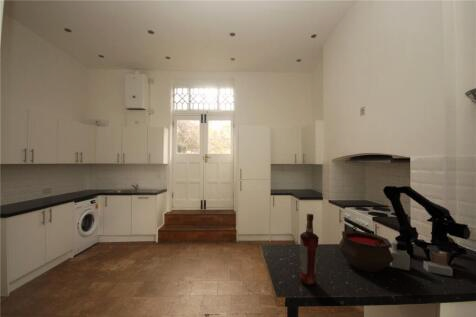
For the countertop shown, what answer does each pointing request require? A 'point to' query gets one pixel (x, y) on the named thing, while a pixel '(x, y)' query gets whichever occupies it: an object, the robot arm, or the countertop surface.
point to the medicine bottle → (400, 255)
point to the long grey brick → (438, 268)
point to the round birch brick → (446, 256)
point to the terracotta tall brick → (438, 258)
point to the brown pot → (365, 250)
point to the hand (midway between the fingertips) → (438, 263)
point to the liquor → (308, 253)
